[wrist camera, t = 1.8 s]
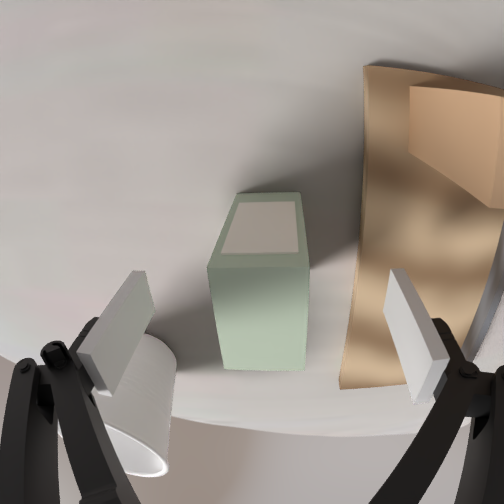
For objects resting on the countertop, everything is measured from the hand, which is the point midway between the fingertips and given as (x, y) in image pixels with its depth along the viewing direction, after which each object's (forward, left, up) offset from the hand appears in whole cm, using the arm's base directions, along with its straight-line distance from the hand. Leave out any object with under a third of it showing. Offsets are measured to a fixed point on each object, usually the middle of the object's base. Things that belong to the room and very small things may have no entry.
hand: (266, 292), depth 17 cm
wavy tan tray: (+2, +12, -6) cm, 13 cm away
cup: (+12, -12, -6) cm, 18 cm away
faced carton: (-8, +11, -5) cm, 15 cm away
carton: (0, 0, -6) cm, 6 cm away
